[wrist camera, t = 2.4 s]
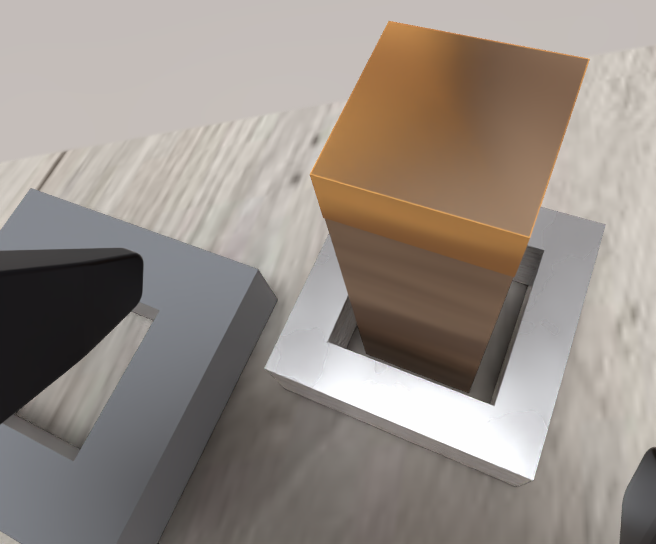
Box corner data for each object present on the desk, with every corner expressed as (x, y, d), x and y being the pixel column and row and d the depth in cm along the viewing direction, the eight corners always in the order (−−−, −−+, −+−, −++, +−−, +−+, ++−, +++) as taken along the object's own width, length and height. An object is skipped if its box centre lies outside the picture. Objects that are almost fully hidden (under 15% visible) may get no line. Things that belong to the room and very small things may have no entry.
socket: (139, 578, 19) (93, 588, 16) (-80, 449, 22) (-149, 438, 19) (277, 299, 22) (258, 269, 20) (71, 223, 26) (30, 188, 23)
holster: (516, 486, 18) (533, 480, 16) (284, 388, 21) (264, 368, 18) (581, 262, 21) (605, 224, 18) (370, 200, 24) (364, 159, 21)
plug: (468, 393, 20) (529, 237, 9) (365, 354, 21) (309, 174, 10) (502, 296, 21) (590, 58, 10) (402, 264, 22) (388, 20, 11)
